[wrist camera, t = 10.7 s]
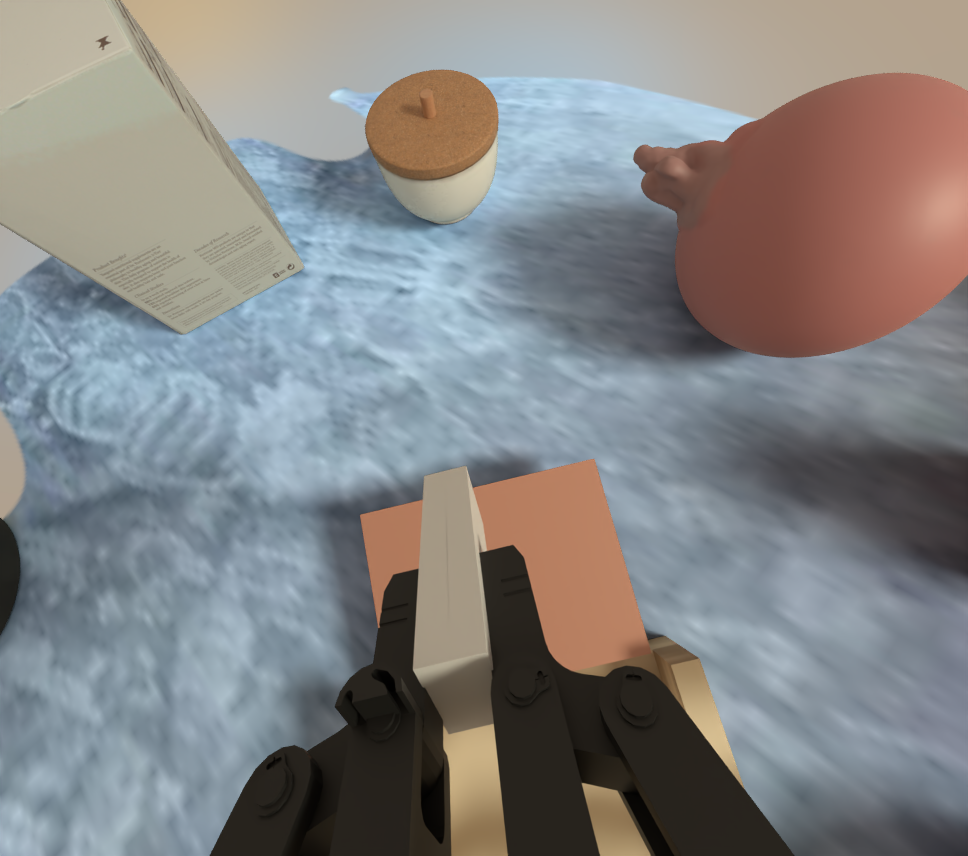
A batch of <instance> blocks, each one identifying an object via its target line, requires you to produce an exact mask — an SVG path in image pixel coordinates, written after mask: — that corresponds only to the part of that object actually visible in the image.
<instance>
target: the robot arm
mask: <svg viewBox="0 0 968 856" xmlns="http://www.w3.org/2000/svg"><path fill="white" fill-rule="evenodd" d="M19 576H20V559H19V552H18V547H17V544H16V540H15V538H14V536H13V534H12V532H11V530H10V529H9V527H8V526H7V524H6V523H5V522H4V521H3V520H2V519H1V518H0V634H1V633H2V631H3V629H4V627H5V625H6V623H7V621H8V618H9V616H10V613H11V611H12V608H13V605H14V602H15V598H16V595H17V590H18V584H19ZM381 610H382V613H381V615H380V621H379V626H380V627H379V628H378V635H377V641H376V648H375V655H374V662H373V664H371V665H368V666H366V667H364V668H362V669H360V670H359V671H358V672H357V673H355V674H354V675H353V676H352V677H351V678H350V679H349V680H348V681H347V683H346V684H345V686H344V687H343V688H342V690H341V691H340V694H339V696H338V699H337V702H336V704H335V708H336V709H337V710H338V711H339V713H340V714H341V715H342V716H343V718H344V719H345V720H346V721H347V723H348V725H347V726H345V727H344V728H343V729H341V730H340V731H339V732H337V733H336V734H334V735H332V736H331V737H329V738H328V739H326V740H324V741H323V742H321V743H320V744H318V745H316V746H315V747H313V748H312V749H310V750H308V751H307V752H306V751H305V750H304V749H302V748H300V747H297V746H295V745H293V746H288V747H283V748H281V749H279V750H277V751H276V752H274V753H272V754H271V755H269V756H268V757H267V758H266V759H265V760H264V761H263V762H262V763H261V764H260V765H259V766H258V767H257V768H256V769H255V771H254V772H253V774H252V776H251V777H250V779H249V780H248V782H247V783H246V785H245V787H244V789H243V791H242V792H241V794H240V796H239V798H238V800H237V802H236V804H235V806H234V808H233V810H232V812H231V814H230V816H229V818H228V820H227V822H226V824H225V826H224V828H223V830H222V832H221V834H220V836H219V838H218V840H217V842H216V844H215V846H214V848H213V850H212V852H211V854H210V856H451V810H450V768H449V762H448V757H447V754H446V752H445V751H444V749H443V725H444V727H445V729H446V730H447V732H448V734H452V733H457V732H461V731H465V730H469V729H474V728H478V727H482V726H487V725H491V724H494V731H495V741H496V750H497V759H498V769H499V778H500V787H501V797H502V806H503V815H504V825H505V834H506V843H507V853H508V856H600V853H599V849H598V845H597V841H596V837H595V834H594V830H593V826H592V822H591V818H590V814H589V810H588V806H587V802H586V798H585V794H584V790H583V786H582V783H585V784H589V785H594V786H598V787H603V788H607V789H612V790H616V791H618V793H619V795H620V797H621V799H622V801H623V803H624V804H625V806H626V808H627V810H628V812H629V814H630V816H631V818H632V820H633V822H634V824H635V826H636V828H637V830H638V832H639V833H640V835H641V837H642V839H643V841H644V843H645V845H646V847H647V849H648V851H649V853H650V855H651V856H794V854H793V853H792V852H791V850H790V849H789V848H788V846H787V845H786V844H785V842H784V841H783V840H782V838H781V837H780V836H779V834H778V833H777V832H776V830H775V829H774V828H773V827H772V825H771V824H770V823H769V821H768V820H767V819H766V817H765V816H764V815H763V813H762V812H761V811H760V809H759V808H758V807H757V805H756V804H755V803H754V801H753V800H752V799H751V797H750V796H749V795H748V793H747V792H746V791H745V789H744V788H743V787H742V785H741V784H740V783H739V781H738V780H737V779H736V777H735V776H734V775H733V773H732V772H731V771H730V770H729V768H728V767H727V766H726V764H725V763H724V762H723V760H722V759H721V758H720V756H719V755H718V754H717V752H716V751H715V750H714V748H713V747H712V746H711V744H710V743H709V742H708V740H707V739H706V738H705V736H704V735H703V734H702V732H701V731H700V730H699V728H698V727H697V726H696V724H695V723H694V722H693V720H692V719H691V718H690V716H689V715H688V714H687V712H686V711H685V710H684V709H683V707H682V706H681V705H680V703H679V702H678V701H677V699H676V698H675V697H674V695H673V694H672V693H671V691H670V690H669V689H668V687H667V686H666V685H665V684H664V683H663V682H662V681H661V680H660V679H659V678H658V677H657V676H656V675H655V674H653V673H651V672H649V671H647V670H645V669H643V668H641V667H635V666H627V665H626V666H623V667H619V668H616V669H613V670H612V671H611V672H610V673H609V674H608V675H606V676H605V677H603V676H595V675H588V674H581V673H578V672H574V671H571V670H569V669H567V668H565V667H563V666H562V665H561V664H560V663H559V662H557V661H556V660H555V659H554V657H553V656H552V654H551V653H550V652H549V650H548V647H547V644H546V642H545V638H544V634H543V630H542V626H541V622H540V618H539V614H538V610H537V606H536V602H535V599H534V595H533V591H532V587H531V583H530V579H529V575H528V571H527V567H526V563H525V559H524V557H523V555H522V554H521V553H520V552H519V551H518V550H517V548H516V547H515V546H514V545H510V546H506V547H501V548H497V549H493V550H489V551H487V548H486V541H485V534H484V527H483V522H482V518H481V515H480V512H479V508H478V505H477V501H476V498H475V495H474V491H473V488H472V484H471V481H470V477H469V474H468V471H467V467H466V466H463V467H459V468H455V469H451V470H447V471H442V472H438V473H434V474H430V475H426V476H424V488H423V505H422V522H421V539H420V556H419V568H418V569H414V570H410V571H406V572H402V573H397V574H393V576H392V578H391V580H390V581H389V583H388V585H387V587H386V589H385V591H384V595H383V601H382V608H381Z"/></svg>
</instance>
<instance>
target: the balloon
mask: <svg viewBox="0 0 968 856" xmlns="http://www.w3.org/2000/svg"><path fill="white" fill-rule="evenodd" d="M633 160H634V162H635V163H636V164H637V165H638V166H639V168H640V169H641V170H642V171H644V172H645V173H646V174H645V176H644V177H643V179H642V182H641V188H642V190H643V193H644V194H645V195H646V196H647V197H648V198H649V199H650V200H652V201H654V202H656V203H658V204H661V205H663V206H666V207H668V208H670V209H672V210H674V211H675V212H676V214H677V226H678V229H679V232H678V236H677V242H676V250H675V269H676V277H677V282H678V286H679V289H680V292H681V295H682V298H683V300H684V302H685V304H686V306H687V307H688V309H689V311H690V312H691V314H692V315H693V316H694V318H695V319H696V320H697V321H698V322H699V323H700V324H701V325H702V326H703V327H704V328H705V329H706V330H707V331H708V332H710V333H711V334H712V335H714V336H715V337H716V338H718V339H720V340H721V341H723V342H725V343H727V344H729V345H731V346H733V347H736V348H738V349H741V350H744V351H747V352H751V353H755V354H759V355H765V356H772V357H786V358H796V357H811V356H819V355H825V354H831V353H835V352H840V351H844V350H847V349H851V348H854V347H857V346H860V345H863V344H866V343H869V342H871V341H874V340H876V339H878V338H881V337H883V336H885V335H887V334H889V333H891V332H893V331H895V330H897V329H899V328H901V327H903V326H904V325H906V324H908V323H910V322H911V321H913V320H914V319H916V318H918V317H919V316H921V315H922V314H923V313H925V312H926V311H928V310H929V309H930V308H932V307H933V306H934V305H936V304H937V303H938V302H939V301H941V300H942V299H943V298H944V297H945V296H947V295H948V294H949V293H950V292H951V291H952V290H953V289H954V288H955V287H956V286H957V285H958V284H959V283H960V282H961V281H962V280H963V279H964V278H965V277H966V276H967V275H968V91H967V90H965V89H963V88H962V87H959V86H957V85H955V84H953V83H950V82H948V81H945V80H942V79H938V78H934V77H930V76H925V75H919V74H910V73H883V74H874V75H866V76H861V77H856V78H851V79H847V80H843V81H839V82H836V83H833V84H830V85H827V86H824V87H821V88H819V89H816V90H813V91H811V92H809V93H806V94H804V95H802V96H800V97H798V98H796V99H794V100H792V101H790V102H788V103H786V104H785V105H783V106H781V107H779V108H778V109H776V110H775V111H773V112H771V113H770V114H768V115H767V116H765V117H764V118H762V119H759V120H757V121H753V122H750V123H747V124H745V125H743V126H741V127H740V128H738V129H737V130H735V131H734V132H733V133H732V134H731V135H730V137H729V138H728V139H727V140H726V141H725V142H720V141H714V140H710V141H704V142H700V143H692V144H688V145H685V146H682V147H680V148H677V149H675V148H663V147H654V148H652V147H650V146H648V145H642V146H640V147H638V148H637V150H636V151H635V153H634V157H633Z"/></svg>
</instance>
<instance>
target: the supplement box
mask: <svg viewBox="0 0 968 856" xmlns="http://www.w3.org/2000/svg"><path fill="white" fill-rule="evenodd" d="M0 224H1V225H3V226H4V227H6V228H8V229H9V230H11V231H12V232H14V233H16V234H17V235H19V236H21V237H22V238H24V239H26V240H27V241H29V242H30V243H32V244H34V245H35V246H37V247H39V248H40V249H42V250H43V251H45V252H47V253H48V254H50V255H52V256H54V257H55V258H57V259H59V260H60V261H62V262H63V263H65V264H67V265H68V266H70V267H72V268H73V269H75V270H77V271H78V272H80V273H82V274H84V275H85V276H87V277H89V278H90V279H92V280H94V281H95V282H97V283H98V284H100V285H102V286H103V287H105V288H107V289H108V290H110V291H112V292H113V293H115V294H116V295H118V296H120V297H121V298H123V299H125V300H126V301H128V302H129V303H131V304H133V305H134V306H136V307H138V308H139V309H141V310H143V311H144V312H146V313H148V314H149V315H151V316H153V317H154V318H156V319H158V320H159V321H161V322H163V323H164V324H166V325H167V326H169V327H171V328H172V329H174V330H175V331H177V332H178V333H180V334H186V333H188V332H190V331H192V330H194V329H195V328H197V327H199V326H201V325H203V324H204V323H206V322H208V321H210V320H212V319H213V318H215V317H217V316H219V315H221V314H223V313H224V312H226V311H228V310H230V309H232V308H233V307H235V306H237V305H239V304H241V303H242V302H244V301H246V300H248V299H250V298H252V297H253V296H255V295H257V294H259V293H261V292H262V291H264V290H266V289H268V288H270V287H272V286H273V285H275V284H277V283H279V282H281V281H282V280H284V279H286V278H288V277H290V276H291V275H293V274H295V273H297V272H299V271H301V270H302V269H303V268H304V265H303V263H302V261H301V260H300V258H299V256H298V254H297V253H296V251H295V249H294V247H293V245H292V244H291V242H290V240H289V238H288V237H287V235H286V233H285V231H284V230H283V228H282V226H281V224H280V222H279V221H278V219H277V217H276V215H275V213H274V212H273V210H272V208H271V206H270V205H269V203H268V201H267V199H266V198H265V196H264V194H263V193H262V191H261V189H260V188H259V186H258V185H257V184H256V182H255V181H254V180H253V178H252V177H251V176H250V174H249V173H248V172H247V170H246V169H245V168H244V166H243V165H242V163H241V162H240V161H239V159H238V158H237V157H236V155H235V154H234V153H233V151H232V150H231V149H230V147H229V146H228V144H227V143H226V142H225V140H224V139H223V138H222V136H221V135H220V134H219V132H218V131H217V129H216V128H215V127H214V125H213V124H212V123H211V121H210V120H209V119H208V117H207V116H206V115H205V113H204V112H203V111H202V109H201V108H200V107H199V105H198V104H197V102H196V101H195V100H194V98H193V97H192V96H191V94H190V93H189V92H188V90H187V89H186V88H185V86H184V85H183V84H182V82H181V81H180V79H179V78H178V77H177V75H175V73H174V71H173V70H172V69H171V67H170V66H169V65H168V64H167V62H166V61H165V59H164V58H163V57H162V55H161V54H160V53H159V51H158V50H157V48H156V47H155V46H154V44H153V43H152V42H151V40H150V39H149V38H148V36H147V35H146V34H145V32H144V31H143V30H142V28H141V27H140V26H139V24H138V23H137V22H136V20H135V19H134V18H133V16H132V15H131V14H130V12H129V11H128V9H127V8H126V7H125V5H124V4H123V3H122V1H121V0H0Z"/></svg>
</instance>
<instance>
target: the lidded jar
mask: <svg viewBox="0 0 968 856" xmlns="http://www.w3.org/2000/svg"><path fill="white" fill-rule="evenodd" d="M365 131H366V132H365V133H366V138H367V141H368V144H369V147H370V149H371V151H372V153H373V155H374V157H375V159H376V161H377V164H378V166H379V169H380V171H381V173H382V175H383V177H384V179H385V181H386V183H387V185H388V187H389V189H390V190H391V191H392V193H393V194H394V196H395V197H396V198H397V200H398V201H399V202H400V203H401V204H402V205H403V206H404V207H405V208H406V209H407V210H409V211H410V212H412V213H413V214H415V215H416V216H418V217H420V218H423V219H426V220H428V221H430V222H433V223H436V224H452V223H456V222H458V221H461V220H463V219H464V218H466V217H467V216H469V215H470V214H471V213H472V212H473V210H474V209H475V208H476V207H477V206H478V205H479V204H480V203H481V202H482V201H483V199H484V198H485V196H486V195H487V193H488V191H489V189H490V187H491V184H492V181H493V178H494V174H495V169H496V163H497V151H498V132H497V131H498V108H497V103H496V101H495V98H494V96H493V94H492V93H491V91H490V90H489V89H488V88H487V87H486V86H485V85H484V84H483V83H482V82H481V81H479V80H478V79H476V78H474V77H472V76H470V75H468V74H465V73H462V72H458V71H452V70H430V71H424V72H420V73H416V74H413V75H410V76H408V77H405V78H403V79H401V80H399V81H397V82H396V83H394V84H392V85H391V86H390V87H388V88H387V89H386V90H385V91H383V92H382V93H381V94H380V95H379V96H378V98H377V99H376V100H375V101H374V103H373V105H372V106H371V108H370V110H369V113H368V116H367V119H366V125H365Z"/></svg>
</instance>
